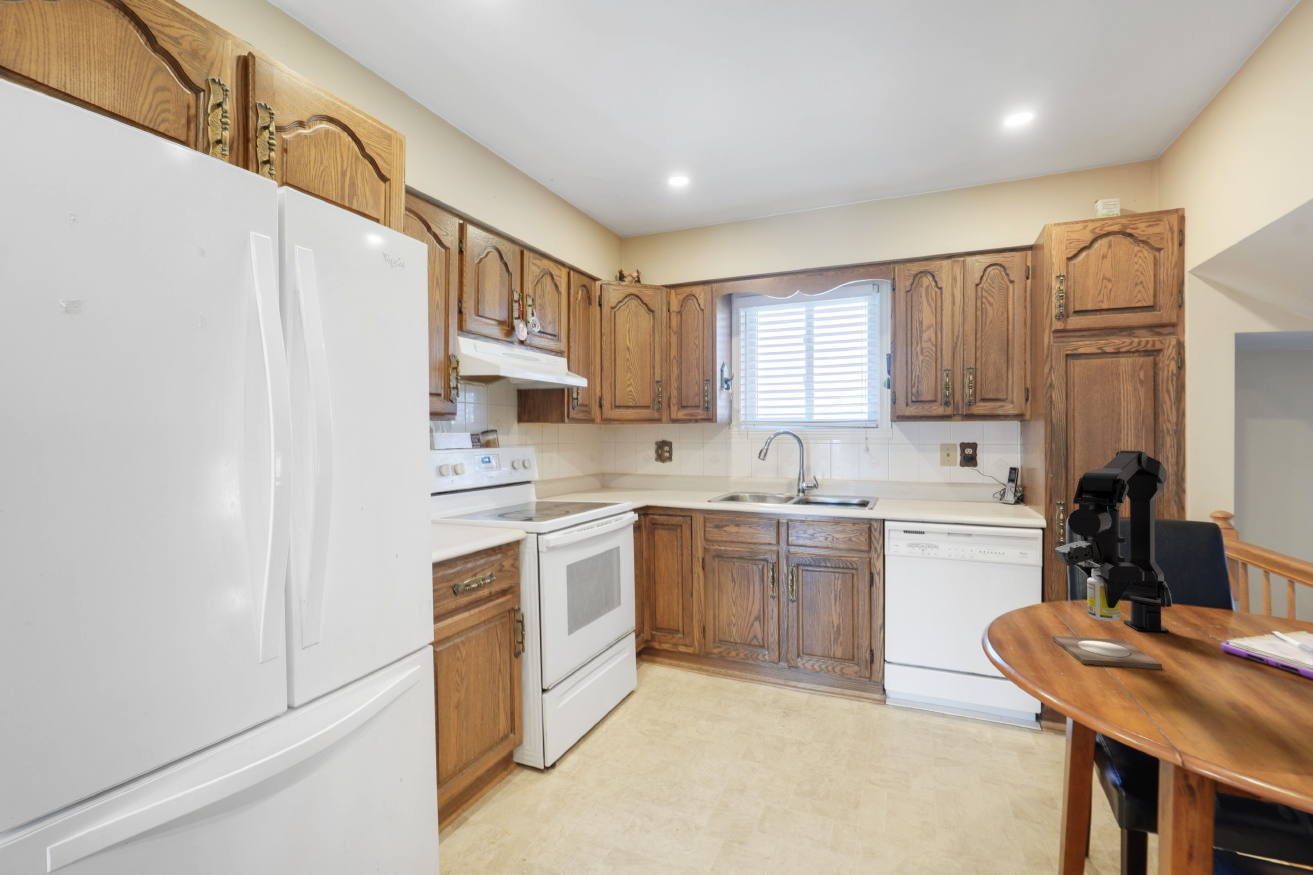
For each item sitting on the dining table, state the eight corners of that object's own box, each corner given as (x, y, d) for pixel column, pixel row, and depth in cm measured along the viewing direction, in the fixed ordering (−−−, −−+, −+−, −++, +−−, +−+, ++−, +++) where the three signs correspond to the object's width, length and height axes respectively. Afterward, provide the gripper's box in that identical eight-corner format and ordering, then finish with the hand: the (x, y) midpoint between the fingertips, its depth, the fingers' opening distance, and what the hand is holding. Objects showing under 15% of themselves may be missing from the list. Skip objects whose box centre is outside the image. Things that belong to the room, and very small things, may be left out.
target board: (1052, 640, 134) (1052, 634, 134) (1123, 643, 131) (1123, 638, 131) (1082, 663, 120) (1082, 658, 120) (1161, 669, 117) (1161, 663, 117)
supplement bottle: (1125, 619, 124) (1125, 571, 124) (1111, 623, 122) (1110, 574, 121) (1096, 612, 129) (1096, 565, 129) (1081, 616, 127) (1081, 569, 126)
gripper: (1042, 523, 136) (1043, 590, 136) (1081, 538, 118) (1082, 615, 118) (1096, 524, 133) (1097, 592, 134) (1145, 539, 115) (1146, 618, 115)
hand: (1103, 603), depth 125 cm, fingers closed on supplement bottle, 6 cm apart
